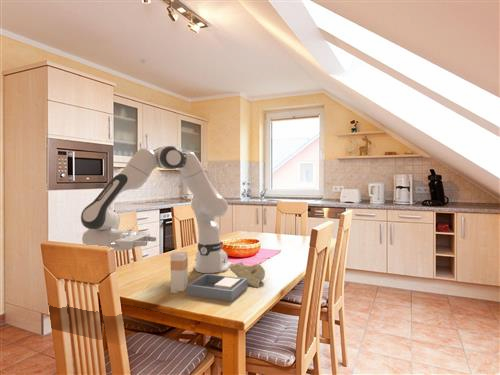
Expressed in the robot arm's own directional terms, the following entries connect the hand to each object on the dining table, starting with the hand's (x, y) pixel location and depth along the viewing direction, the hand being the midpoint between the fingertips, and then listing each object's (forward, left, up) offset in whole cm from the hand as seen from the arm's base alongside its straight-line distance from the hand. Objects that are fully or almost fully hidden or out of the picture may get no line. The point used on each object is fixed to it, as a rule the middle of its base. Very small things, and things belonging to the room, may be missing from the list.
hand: (151, 241), depth 134 cm
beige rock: (-21, +35, -21) cm, 46 cm away
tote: (-6, +29, -21) cm, 36 cm away
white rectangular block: (-6, +33, -20) cm, 39 cm away
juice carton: (-3, +12, -21) cm, 24 cm away
